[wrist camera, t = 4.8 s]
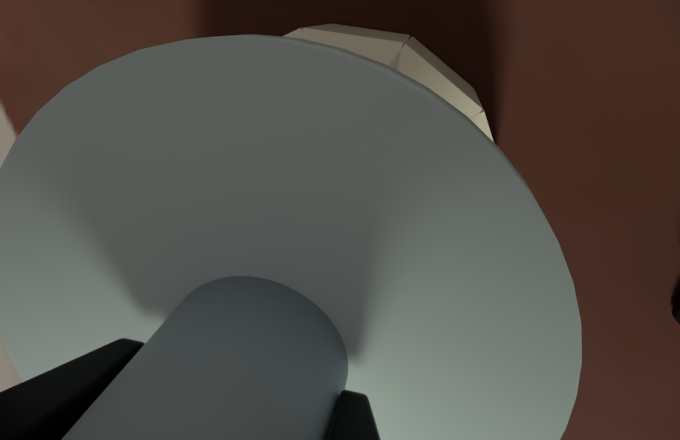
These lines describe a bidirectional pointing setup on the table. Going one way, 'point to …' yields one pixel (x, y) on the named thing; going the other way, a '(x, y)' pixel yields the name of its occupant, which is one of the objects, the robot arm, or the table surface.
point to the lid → (282, 251)
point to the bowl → (402, 62)
